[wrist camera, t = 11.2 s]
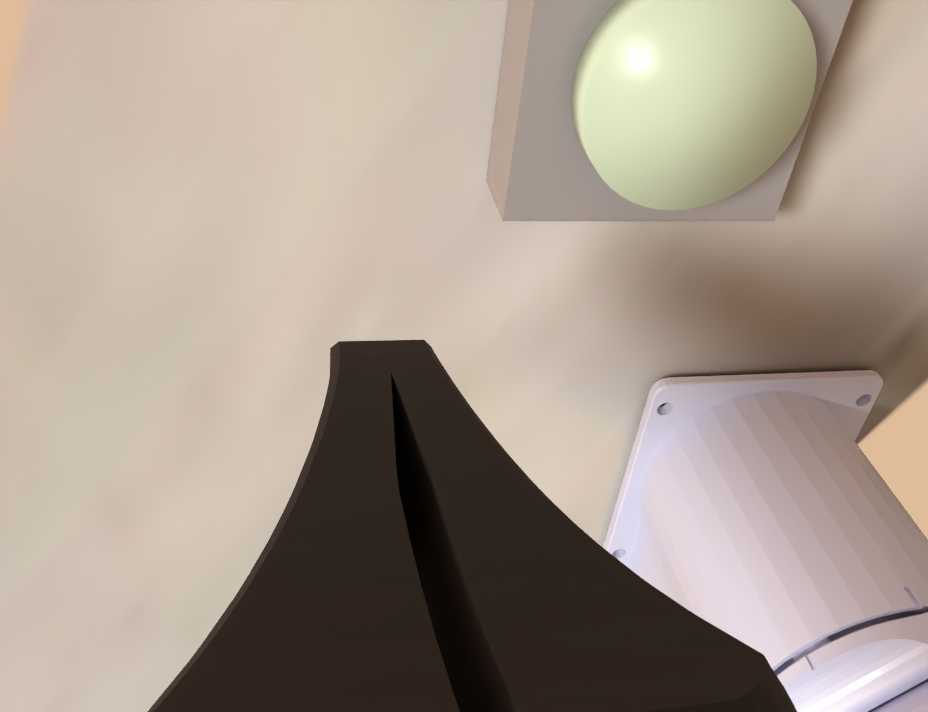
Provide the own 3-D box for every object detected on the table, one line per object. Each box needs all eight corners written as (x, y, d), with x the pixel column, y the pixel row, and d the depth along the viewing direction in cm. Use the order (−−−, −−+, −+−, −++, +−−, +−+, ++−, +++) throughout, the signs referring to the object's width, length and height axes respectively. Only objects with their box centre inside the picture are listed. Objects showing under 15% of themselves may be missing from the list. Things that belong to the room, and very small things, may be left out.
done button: (724, 156, 22) (772, 211, 20) (534, 153, 21) (564, 210, 19) (787, -53, 19) (852, -16, 17) (570, -69, 18) (610, -31, 16)
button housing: (741, 184, 24) (773, 221, 22) (486, 181, 22) (503, 221, 21) (833, -106, 19) (882, -84, 18) (525, -130, 18) (549, -110, 16)
